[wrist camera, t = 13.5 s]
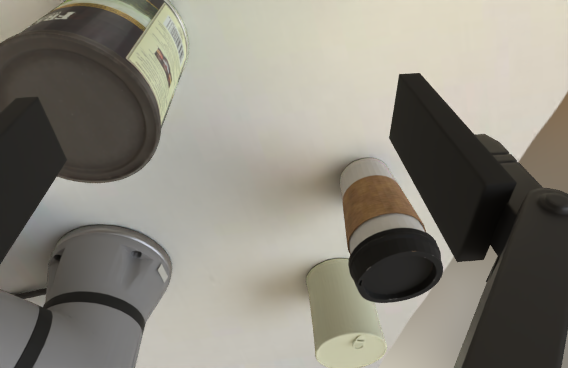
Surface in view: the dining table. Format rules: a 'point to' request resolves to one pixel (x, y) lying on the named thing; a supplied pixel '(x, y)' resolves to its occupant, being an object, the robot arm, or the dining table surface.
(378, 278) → the coffee cup
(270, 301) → the dining table surface
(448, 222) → the robot arm
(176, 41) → the coffee can
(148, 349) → the dining table surface
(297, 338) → the dining table surface
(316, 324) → the can
